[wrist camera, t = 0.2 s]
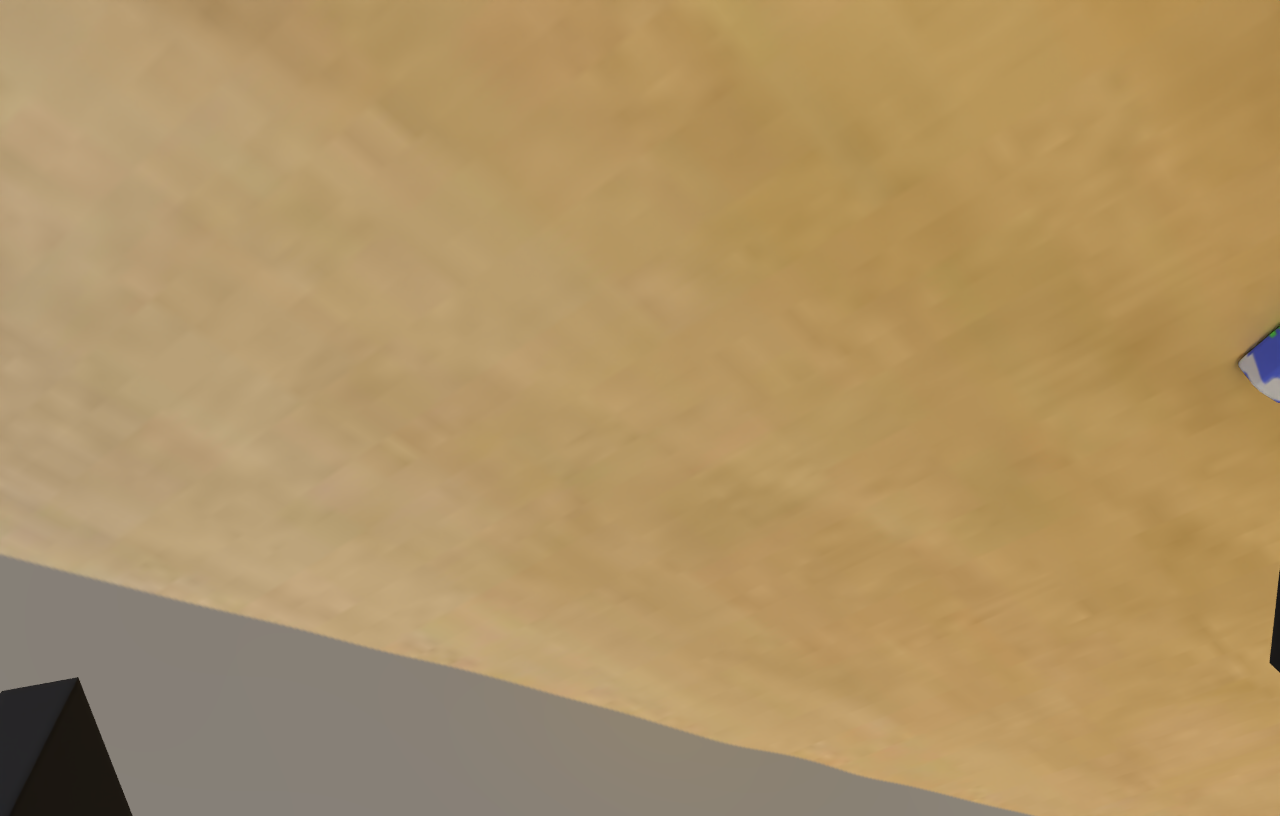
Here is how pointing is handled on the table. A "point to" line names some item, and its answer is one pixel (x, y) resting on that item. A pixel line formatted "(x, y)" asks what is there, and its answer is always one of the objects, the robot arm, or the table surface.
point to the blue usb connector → (1264, 366)
